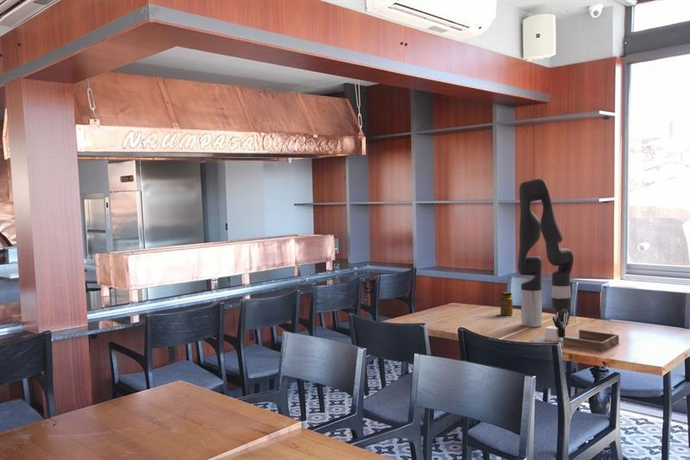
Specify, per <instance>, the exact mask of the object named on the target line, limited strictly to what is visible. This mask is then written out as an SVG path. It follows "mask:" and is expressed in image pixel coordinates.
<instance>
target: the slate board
mask: <svg viewBox="0 0 690 460" xmlns="http://www.w3.org/2000/svg"><path fill="white" fill-rule="evenodd" d="M565 337H568V338H574V339H581V340H588V341H595V342H603V341H596V340H589V339H582V338H579V336H578V337H577V336H569V335H565ZM530 342H533V343H540V342H560V343H561V347H566V348H568V347H567V346H563V338H561V339H560V340H558V341H551V340H545V334H543V335H541V336H538V337H536V338H533V339H531V340H529V343H530ZM618 345H619V344H617V345H615V346H613V347H611V348H610V349H608V350H606V351H604V352H603V353H605V352H607V351H609V350H611V349H612V348H614V347H616V346H618ZM571 348H572V349H573V347H571ZM577 349H579V350H581V349H580V348H577ZM584 350H585V351H587V350H586V349H584ZM590 351H592V352H593V350H590ZM596 352H598V353H600V352H599V351H596Z"/></svg>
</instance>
